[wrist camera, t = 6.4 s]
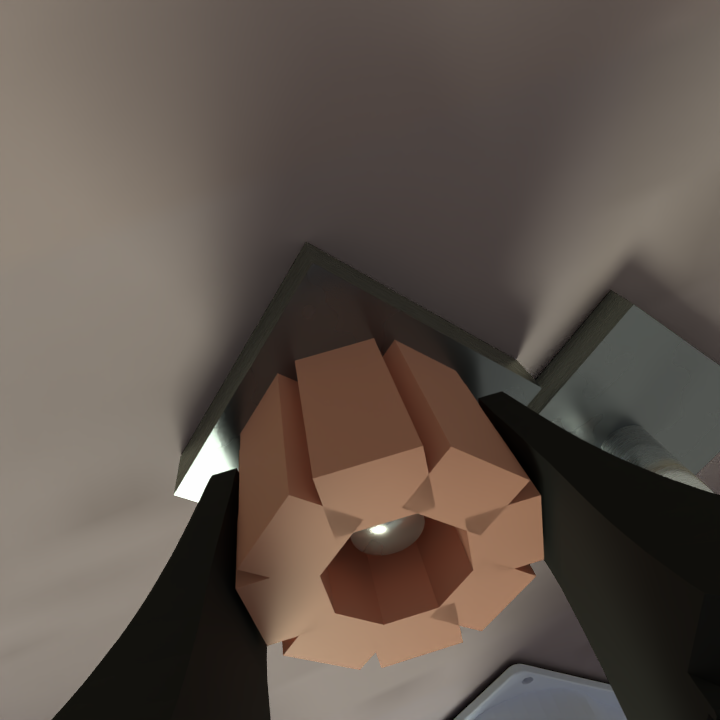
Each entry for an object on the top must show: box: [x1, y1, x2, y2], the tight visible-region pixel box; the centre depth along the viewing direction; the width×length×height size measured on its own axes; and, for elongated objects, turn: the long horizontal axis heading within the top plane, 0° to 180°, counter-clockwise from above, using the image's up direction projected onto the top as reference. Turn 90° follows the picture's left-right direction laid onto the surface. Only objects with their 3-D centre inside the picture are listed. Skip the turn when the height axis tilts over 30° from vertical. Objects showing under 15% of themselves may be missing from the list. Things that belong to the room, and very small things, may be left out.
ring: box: [236, 338, 544, 670], centre depth 12 cm, size 6×6×4 cm
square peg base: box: [174, 242, 542, 555], centre depth 13 cm, size 7×7×4 cm
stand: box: [527, 291, 720, 494], centre depth 15 cm, size 7×7×4 cm
